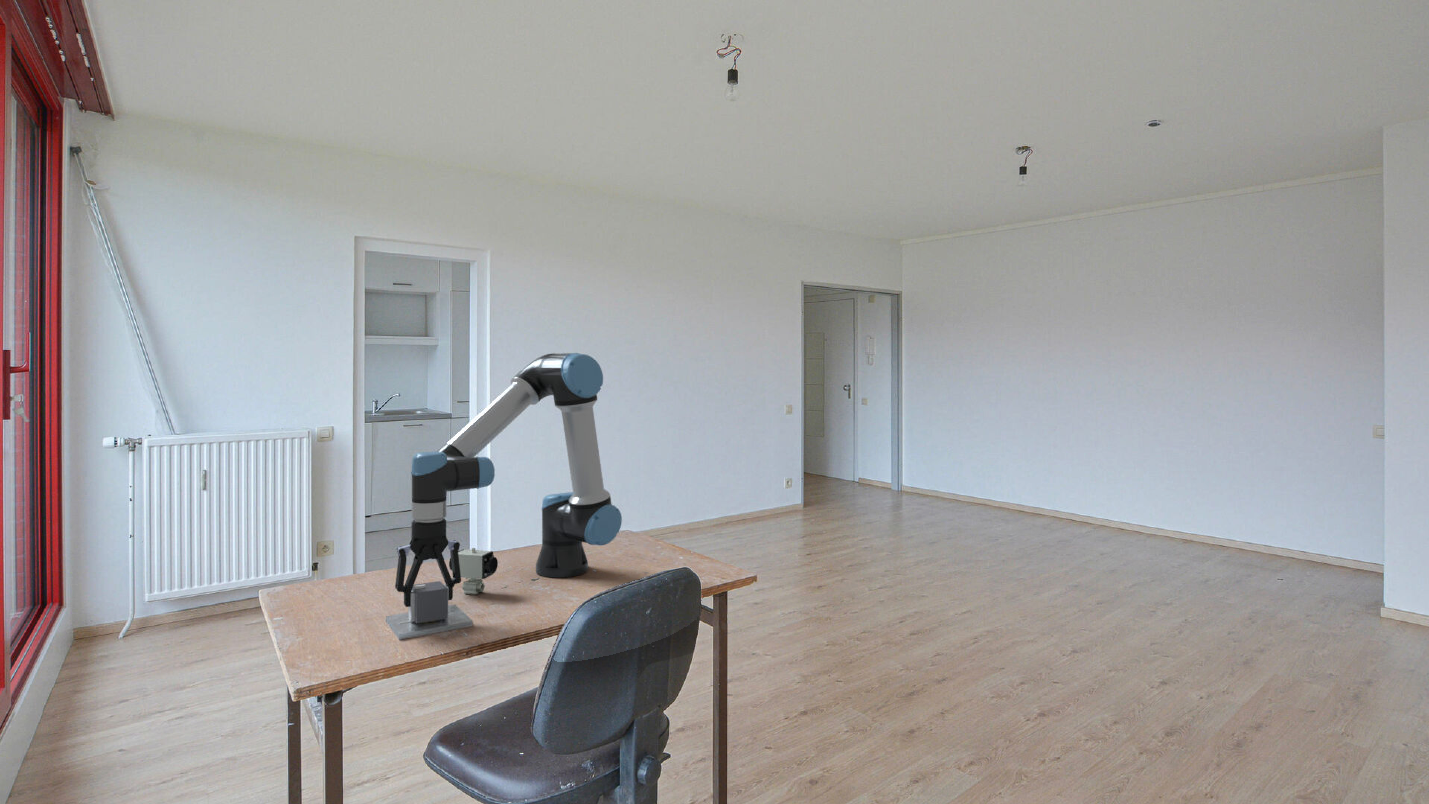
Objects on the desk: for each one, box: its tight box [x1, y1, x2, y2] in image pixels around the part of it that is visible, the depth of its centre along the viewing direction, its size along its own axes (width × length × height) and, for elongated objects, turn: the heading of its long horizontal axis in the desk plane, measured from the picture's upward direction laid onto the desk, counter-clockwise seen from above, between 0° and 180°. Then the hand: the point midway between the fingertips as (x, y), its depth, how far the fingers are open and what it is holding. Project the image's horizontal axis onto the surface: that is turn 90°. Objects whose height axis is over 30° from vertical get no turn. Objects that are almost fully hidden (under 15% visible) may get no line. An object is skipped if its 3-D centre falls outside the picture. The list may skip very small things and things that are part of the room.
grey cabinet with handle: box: [412, 580, 449, 623], centre depth 170 cm, size 7×7×8 cm
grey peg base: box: [385, 603, 474, 641], centre depth 170 cm, size 16×14×7 cm
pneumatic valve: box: [448, 547, 499, 596], centre depth 193 cm, size 6×12×12 cm, turn 78°
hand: (428, 616), depth 170 cm, fingers closed on grey cabinet with handle, 7 cm apart
